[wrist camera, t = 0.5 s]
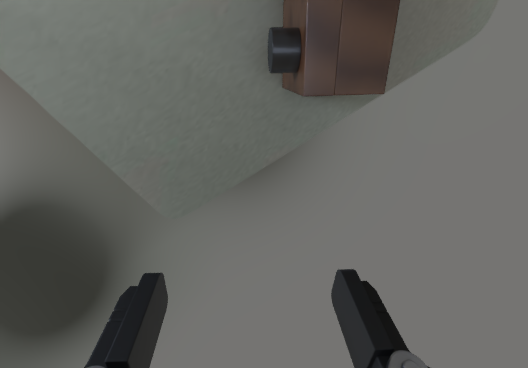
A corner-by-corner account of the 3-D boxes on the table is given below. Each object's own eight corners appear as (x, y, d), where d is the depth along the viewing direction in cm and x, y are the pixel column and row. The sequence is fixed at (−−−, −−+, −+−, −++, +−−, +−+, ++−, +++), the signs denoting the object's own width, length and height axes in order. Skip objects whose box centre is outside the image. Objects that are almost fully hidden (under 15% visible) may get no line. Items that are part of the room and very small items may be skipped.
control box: (259, -68, 28) (274, -155, 17) (353, -66, 29) (425, -147, 18) (262, 88, 34) (274, 97, 24) (339, 86, 35) (384, 94, 24)
